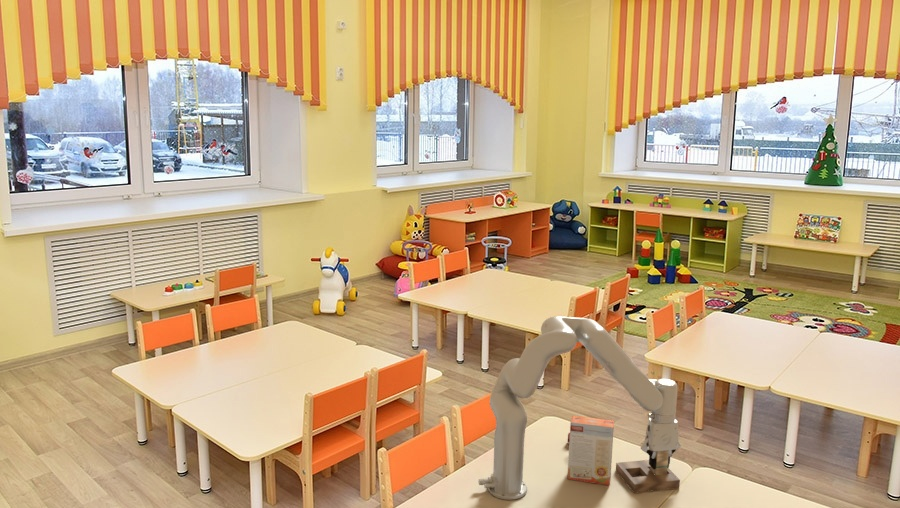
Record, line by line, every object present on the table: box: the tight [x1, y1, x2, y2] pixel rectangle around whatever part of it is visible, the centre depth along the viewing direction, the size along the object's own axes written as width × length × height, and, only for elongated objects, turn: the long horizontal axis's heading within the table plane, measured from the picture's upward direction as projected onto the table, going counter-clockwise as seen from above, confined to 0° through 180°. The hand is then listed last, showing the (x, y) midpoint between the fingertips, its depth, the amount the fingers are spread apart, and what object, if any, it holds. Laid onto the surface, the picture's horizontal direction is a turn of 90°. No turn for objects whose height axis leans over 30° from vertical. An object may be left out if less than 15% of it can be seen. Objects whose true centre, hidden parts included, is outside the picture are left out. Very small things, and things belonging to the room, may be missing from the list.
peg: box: [650, 450, 669, 475], centre depth 236 cm, size 4×4×10 cm
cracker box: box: [567, 415, 615, 486], centre depth 235 cm, size 14×6×21 cm, turn 74°
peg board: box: [615, 459, 681, 494], centre depth 237 cm, size 16×14×3 cm
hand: (659, 466), depth 237 cm, fingers closed on peg, 4 cm apart
